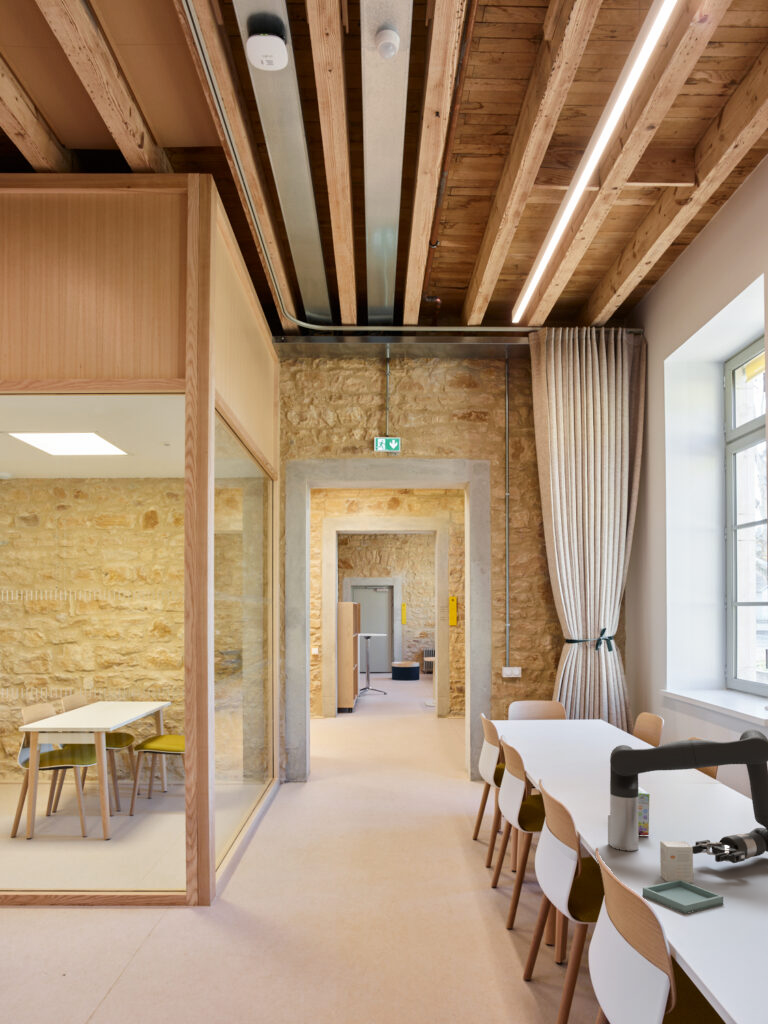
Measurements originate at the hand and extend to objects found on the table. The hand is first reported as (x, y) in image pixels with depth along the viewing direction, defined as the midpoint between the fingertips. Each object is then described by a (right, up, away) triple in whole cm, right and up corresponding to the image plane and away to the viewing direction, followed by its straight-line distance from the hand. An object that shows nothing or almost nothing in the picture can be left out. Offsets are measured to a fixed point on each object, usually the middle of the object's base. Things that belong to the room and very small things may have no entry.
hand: (704, 854), depth 247 cm
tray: (-15, -3, -23) cm, 27 cm away
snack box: (-7, -11, +48) cm, 50 cm away
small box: (-11, -5, -6) cm, 14 cm away
